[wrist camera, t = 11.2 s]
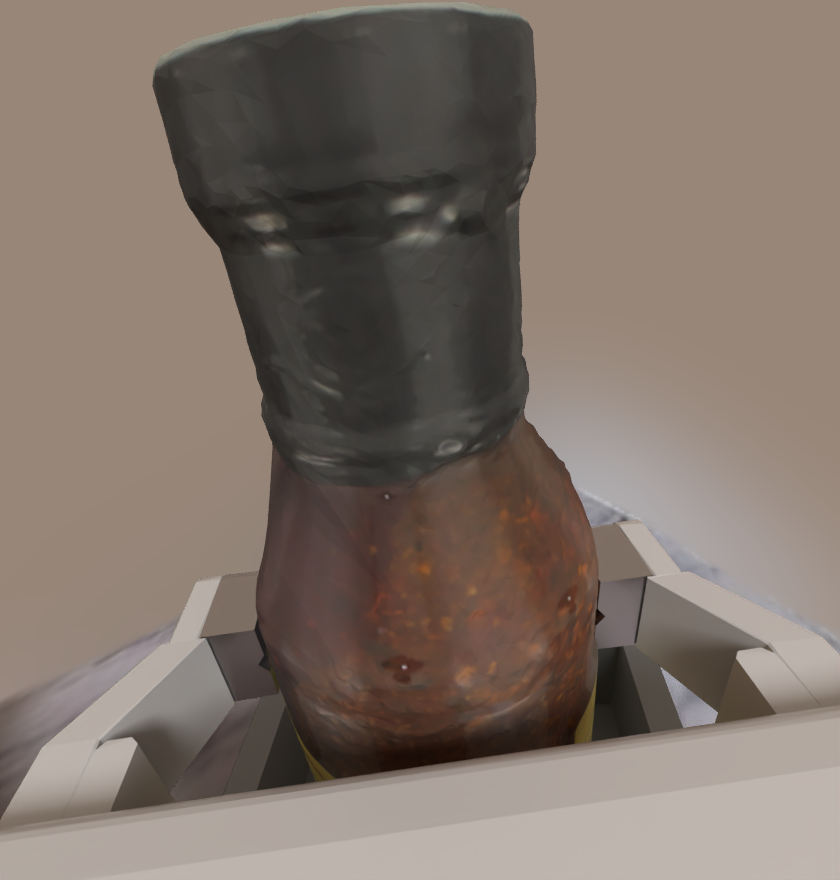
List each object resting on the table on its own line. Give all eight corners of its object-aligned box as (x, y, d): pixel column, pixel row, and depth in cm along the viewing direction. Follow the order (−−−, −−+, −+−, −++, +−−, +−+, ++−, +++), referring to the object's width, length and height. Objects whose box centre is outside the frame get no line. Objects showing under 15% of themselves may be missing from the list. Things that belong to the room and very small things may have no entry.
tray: (148, 1273, 11) (43, 1258, 9) (316, 690, 23) (292, 616, 21) (834, 1397, 9) (944, 1419, 7) (627, 696, 21) (640, 615, 19)
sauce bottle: (470, 718, 19) (421, 97, 10) (619, 870, 15) (805, -10, 5) (322, 858, 16) (17, 99, 6) (459, 1110, 11) (123, -220, 2)
